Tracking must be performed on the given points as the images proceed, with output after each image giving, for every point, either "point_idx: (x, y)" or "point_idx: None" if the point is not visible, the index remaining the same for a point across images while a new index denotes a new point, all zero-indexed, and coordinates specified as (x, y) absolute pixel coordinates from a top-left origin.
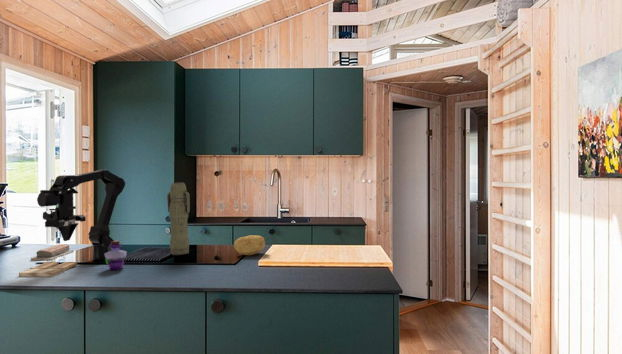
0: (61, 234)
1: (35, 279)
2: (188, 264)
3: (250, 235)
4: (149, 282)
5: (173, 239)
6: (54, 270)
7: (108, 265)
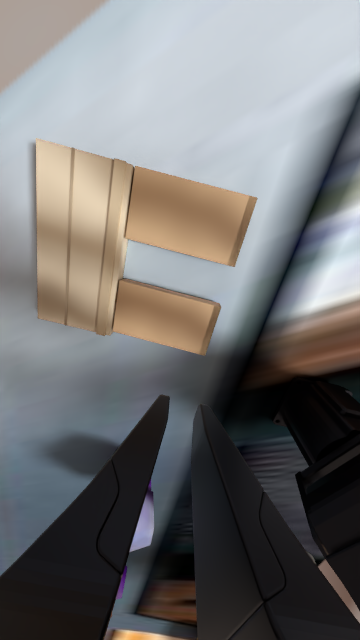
0: (117, 452)
1: (6, 264)
2: (149, 570)
3: None
4: (5, 527)
5: None
6: (73, 312)
7: None
